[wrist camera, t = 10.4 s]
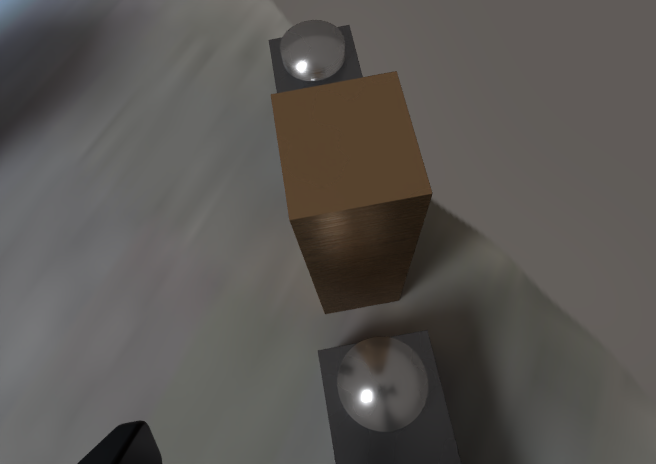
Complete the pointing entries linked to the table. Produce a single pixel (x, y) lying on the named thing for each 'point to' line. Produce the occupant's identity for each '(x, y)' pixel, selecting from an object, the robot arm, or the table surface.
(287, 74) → the chain ends
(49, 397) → the table surface
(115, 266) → the table surface
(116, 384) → the table surface
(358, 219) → the tall brown post
